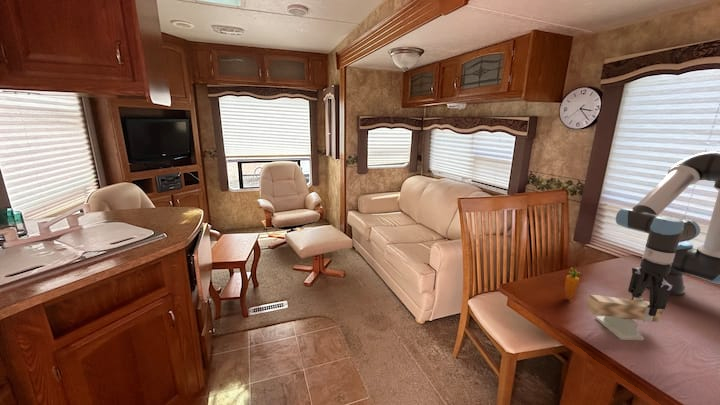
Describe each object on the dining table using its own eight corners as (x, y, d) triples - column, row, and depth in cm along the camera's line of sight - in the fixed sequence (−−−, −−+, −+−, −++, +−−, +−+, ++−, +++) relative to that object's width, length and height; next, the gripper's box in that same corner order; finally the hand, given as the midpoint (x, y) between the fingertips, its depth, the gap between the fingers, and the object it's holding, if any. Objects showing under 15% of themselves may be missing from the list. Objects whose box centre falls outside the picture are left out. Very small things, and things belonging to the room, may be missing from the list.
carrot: (577, 303, 126) (584, 272, 122) (564, 302, 127) (571, 270, 123) (571, 296, 130) (578, 266, 126) (559, 295, 131) (565, 265, 127)
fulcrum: (615, 318, 116) (619, 305, 114) (643, 340, 104) (647, 325, 103) (595, 318, 116) (598, 305, 114) (621, 339, 104) (625, 325, 103)
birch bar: (646, 314, 111) (652, 302, 109) (658, 322, 106) (664, 309, 105) (585, 307, 110) (590, 294, 109) (594, 314, 106) (599, 301, 105)
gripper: (624, 249, 111) (610, 303, 117) (671, 272, 94) (652, 333, 100) (644, 249, 111) (629, 303, 117) (695, 272, 94) (674, 333, 100)
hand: (640, 317), depth 109 cm, fingers closed on birch bar, 4 cm apart
